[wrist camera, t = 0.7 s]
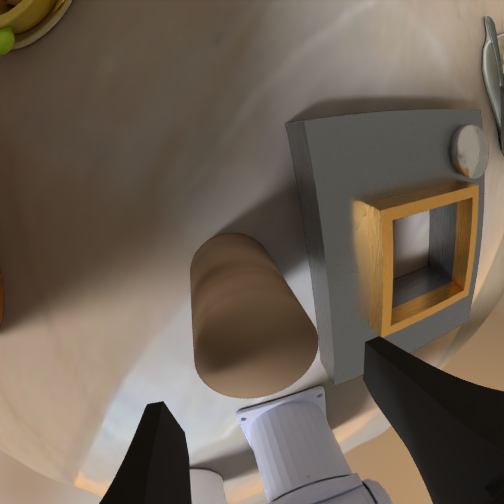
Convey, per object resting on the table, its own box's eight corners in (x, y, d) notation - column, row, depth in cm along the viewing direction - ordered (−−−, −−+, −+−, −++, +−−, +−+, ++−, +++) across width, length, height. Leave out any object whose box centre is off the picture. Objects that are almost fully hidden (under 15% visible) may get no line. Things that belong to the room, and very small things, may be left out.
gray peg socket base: (448, 305, 25) (477, 329, 20) (320, 361, 23) (342, 399, 19) (451, 108, 17) (495, 111, 13) (285, 123, 16) (316, 120, 12)
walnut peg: (276, 294, 20) (322, 377, 13) (203, 314, 20) (215, 409, 12) (262, 223, 18) (312, 286, 11) (180, 245, 18) (175, 324, 10)
